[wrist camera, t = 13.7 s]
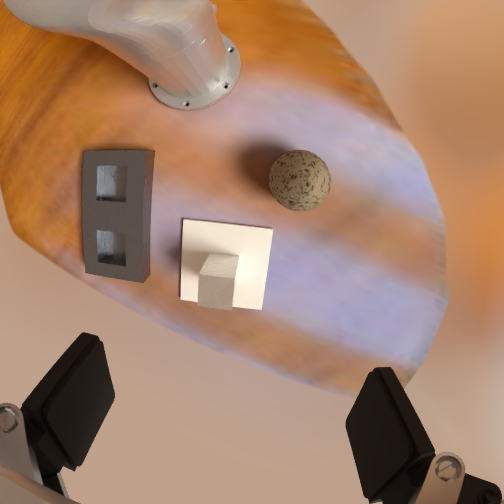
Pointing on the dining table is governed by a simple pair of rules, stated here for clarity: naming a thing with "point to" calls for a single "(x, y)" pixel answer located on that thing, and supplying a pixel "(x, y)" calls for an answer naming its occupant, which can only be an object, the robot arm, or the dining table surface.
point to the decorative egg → (299, 180)
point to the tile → (226, 242)
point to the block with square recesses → (117, 213)
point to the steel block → (218, 281)
